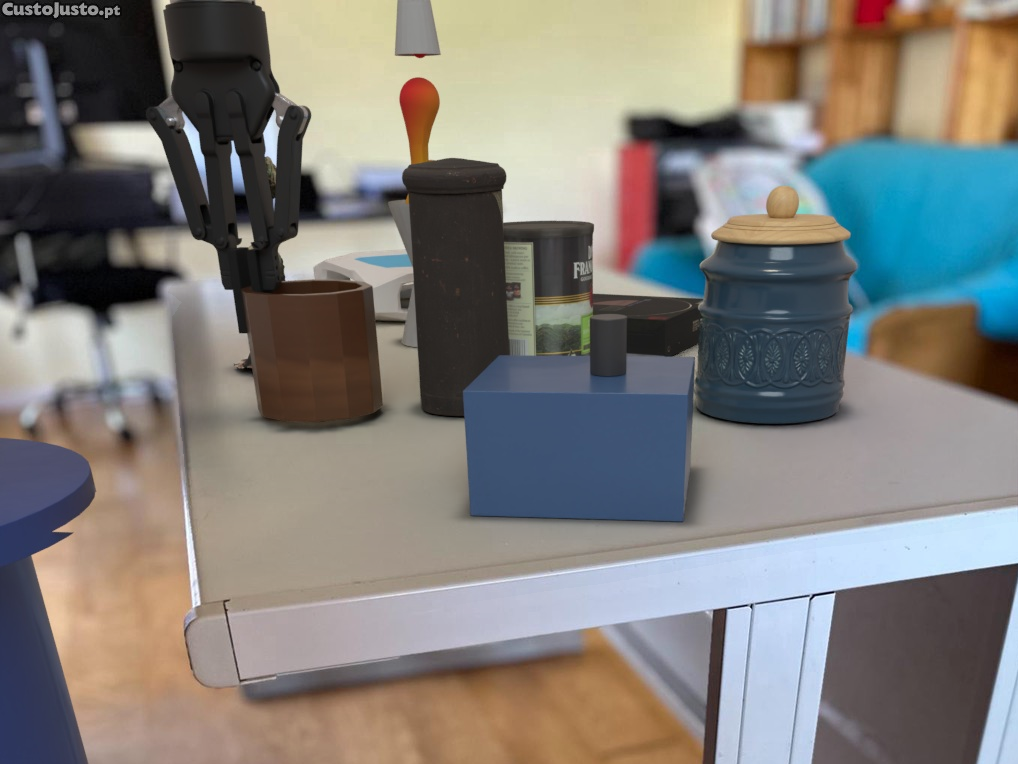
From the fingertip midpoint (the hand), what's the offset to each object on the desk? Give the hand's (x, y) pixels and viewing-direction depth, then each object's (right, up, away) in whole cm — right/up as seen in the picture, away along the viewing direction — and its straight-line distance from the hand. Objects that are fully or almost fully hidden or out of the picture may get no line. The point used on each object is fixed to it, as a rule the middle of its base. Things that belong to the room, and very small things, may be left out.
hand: (258, 330), depth 94 cm
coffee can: (+24, +1, +16) cm, 29 cm away
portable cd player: (+33, +11, +33) cm, 48 cm away
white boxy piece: (+5, +26, +60) cm, 66 cm away
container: (+18, -5, +5) cm, 19 cm away
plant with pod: (-5, +4, +23) cm, 24 cm away
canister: (+45, -6, +2) cm, 45 cm away
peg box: (+28, -18, -18) cm, 38 cm away
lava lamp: (+12, +12, +36) cm, 39 cm away
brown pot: (+5, -6, +3) cm, 8 cm away
